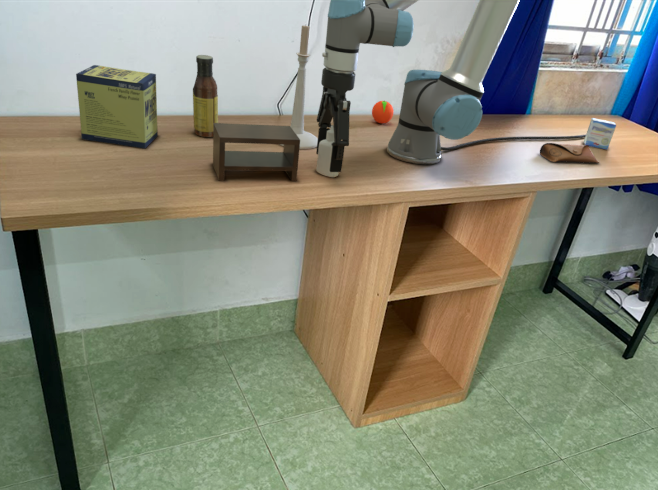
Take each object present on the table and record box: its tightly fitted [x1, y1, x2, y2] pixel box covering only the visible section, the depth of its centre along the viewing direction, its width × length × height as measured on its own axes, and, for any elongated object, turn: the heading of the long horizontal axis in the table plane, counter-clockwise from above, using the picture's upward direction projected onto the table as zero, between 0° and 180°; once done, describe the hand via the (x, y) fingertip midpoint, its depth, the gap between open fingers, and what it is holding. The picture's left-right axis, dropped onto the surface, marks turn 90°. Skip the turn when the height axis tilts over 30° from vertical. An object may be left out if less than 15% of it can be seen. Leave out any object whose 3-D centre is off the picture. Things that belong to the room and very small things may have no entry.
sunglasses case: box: [539, 142, 600, 165], centre depth 192 cm, size 18×7×7 cm
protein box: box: [75, 64, 159, 149], centre depth 148 cm, size 10×16×16 cm
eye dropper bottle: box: [315, 124, 340, 178], centre depth 148 cm, size 4×6×12 cm
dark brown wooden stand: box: [212, 122, 300, 182], centre depth 143 cm, size 18×10×10 cm, turn 109°
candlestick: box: [278, 25, 318, 150], centre depth 162 cm, size 13×13×30 cm
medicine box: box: [583, 117, 617, 151], centre depth 209 cm, size 8×4×9 cm, turn 76°
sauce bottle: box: [192, 54, 219, 138], centre depth 158 cm, size 6×6×20 cm
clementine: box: [371, 100, 395, 125], centre depth 195 cm, size 8×7×7 cm
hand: (328, 162), depth 150 cm, fingers open, 11 cm apart
